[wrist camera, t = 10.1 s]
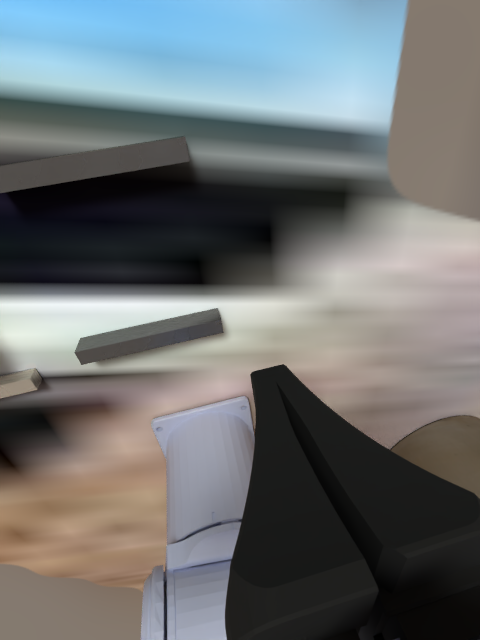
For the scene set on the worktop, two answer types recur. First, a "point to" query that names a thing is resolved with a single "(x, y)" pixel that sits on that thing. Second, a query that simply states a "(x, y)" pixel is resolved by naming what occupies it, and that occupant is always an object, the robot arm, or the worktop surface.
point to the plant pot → (447, 450)
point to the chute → (90, 167)
